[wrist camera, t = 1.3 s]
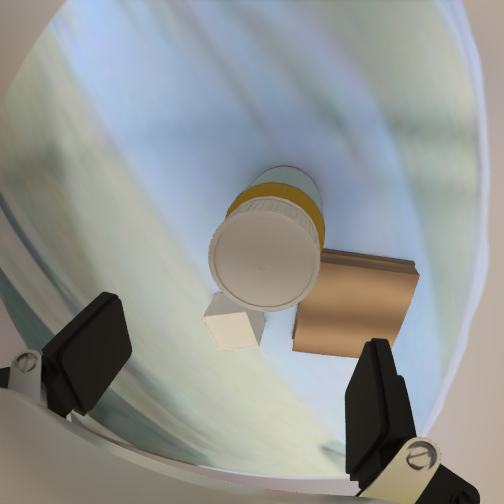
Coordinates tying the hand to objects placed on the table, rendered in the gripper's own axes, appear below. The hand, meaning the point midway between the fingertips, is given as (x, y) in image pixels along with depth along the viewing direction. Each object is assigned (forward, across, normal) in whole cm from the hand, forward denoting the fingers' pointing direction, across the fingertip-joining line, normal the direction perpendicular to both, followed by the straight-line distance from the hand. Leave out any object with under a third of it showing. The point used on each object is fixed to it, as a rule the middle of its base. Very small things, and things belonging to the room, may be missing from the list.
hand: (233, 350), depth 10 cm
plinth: (+21, -9, +10) cm, 25 cm away
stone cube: (+22, +4, +13) cm, 26 cm away
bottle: (+22, 0, -1) cm, 22 cm away
